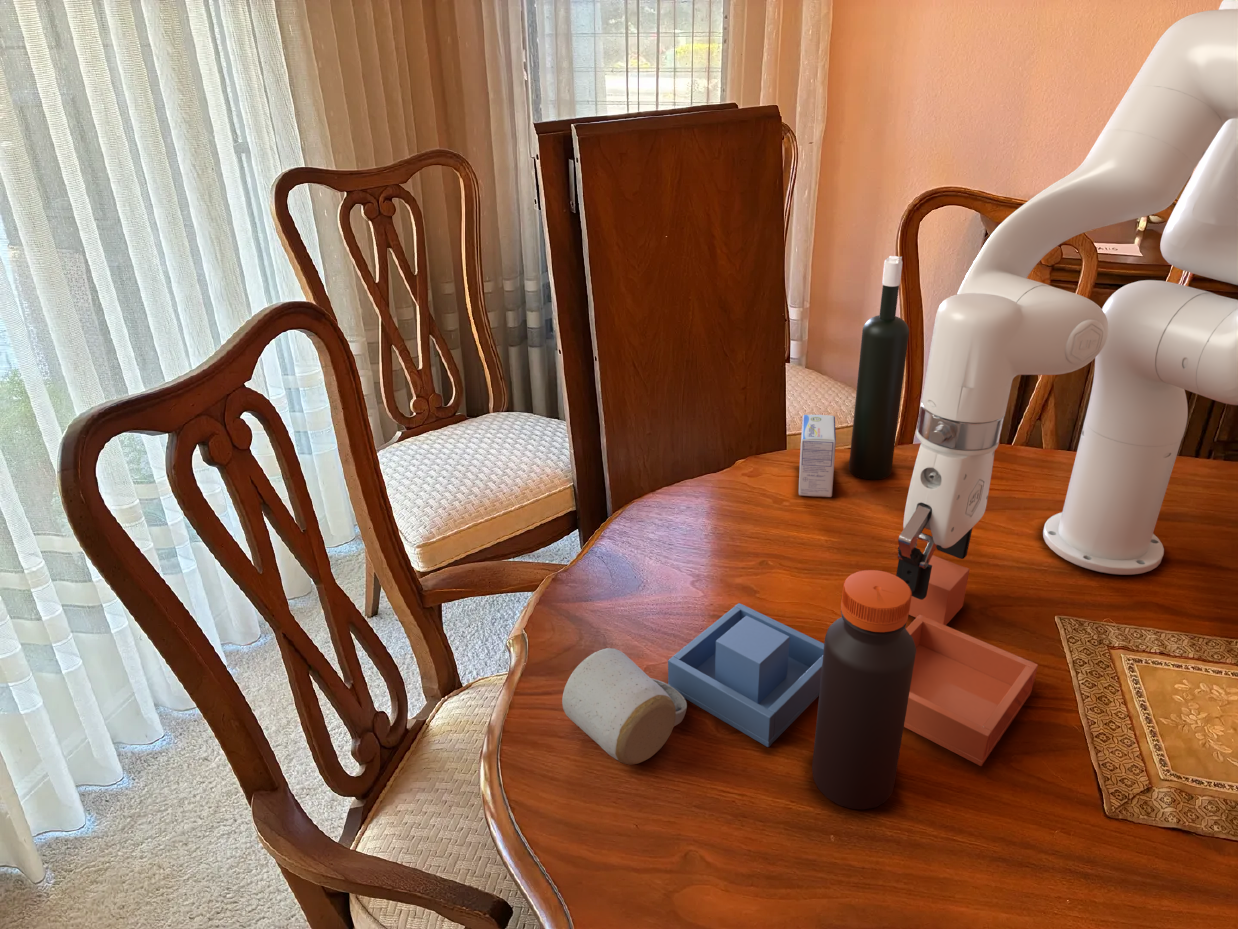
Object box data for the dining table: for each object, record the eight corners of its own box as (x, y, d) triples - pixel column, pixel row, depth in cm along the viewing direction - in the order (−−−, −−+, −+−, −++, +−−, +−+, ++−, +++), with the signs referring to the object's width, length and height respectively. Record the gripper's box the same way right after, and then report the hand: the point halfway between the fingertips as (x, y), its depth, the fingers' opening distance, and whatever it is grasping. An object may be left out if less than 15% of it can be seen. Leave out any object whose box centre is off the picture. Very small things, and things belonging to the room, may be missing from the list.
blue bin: (737, 629, 91) (738, 602, 89) (835, 679, 84) (838, 650, 82) (667, 688, 83) (667, 660, 82) (768, 747, 76) (770, 718, 75)
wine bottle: (899, 476, 118) (927, 260, 104) (860, 482, 117) (884, 265, 103) (878, 458, 123) (903, 249, 109) (841, 463, 122) (861, 254, 108)
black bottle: (910, 797, 71) (945, 603, 62) (840, 823, 69) (865, 627, 60) (862, 739, 77) (888, 554, 67) (796, 762, 75) (812, 574, 65)
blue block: (744, 654, 86) (746, 615, 84) (787, 676, 83) (790, 636, 81) (714, 681, 83) (715, 640, 81) (757, 705, 80) (759, 664, 78)
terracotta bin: (914, 642, 88) (919, 614, 86) (1031, 693, 81) (1038, 664, 79) (858, 704, 81) (862, 674, 79) (981, 767, 74) (988, 736, 72)
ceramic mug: (620, 787, 73) (618, 719, 69) (562, 733, 79) (557, 668, 75) (707, 725, 79) (709, 661, 75) (647, 680, 85) (647, 618, 81)
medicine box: (831, 499, 114) (837, 440, 110) (797, 496, 115) (801, 438, 110) (831, 470, 120) (835, 414, 116) (798, 468, 121) (802, 413, 117)
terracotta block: (918, 589, 96) (924, 551, 93) (962, 606, 93) (969, 568, 90) (898, 610, 93) (903, 572, 90) (942, 629, 90) (949, 590, 87)
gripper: (959, 468, 74) (928, 626, 82) (1032, 408, 86) (998, 552, 93) (880, 443, 79) (858, 595, 87) (958, 389, 90) (932, 528, 98)
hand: (931, 572), depth 90 cm, fingers open, 9 cm apart
